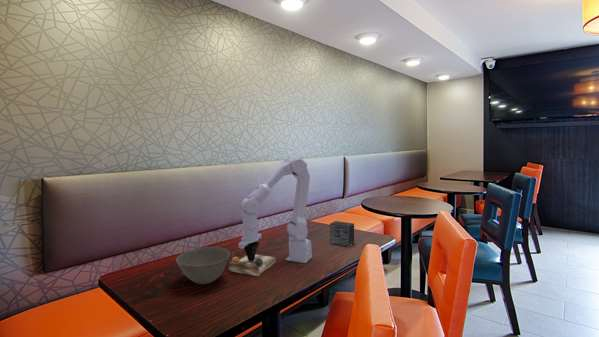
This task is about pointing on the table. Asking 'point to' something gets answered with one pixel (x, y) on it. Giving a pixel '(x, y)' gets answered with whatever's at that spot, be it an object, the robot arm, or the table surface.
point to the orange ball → (235, 259)
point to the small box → (342, 233)
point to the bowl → (203, 263)
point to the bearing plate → (252, 269)
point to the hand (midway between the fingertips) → (251, 260)
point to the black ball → (258, 262)
